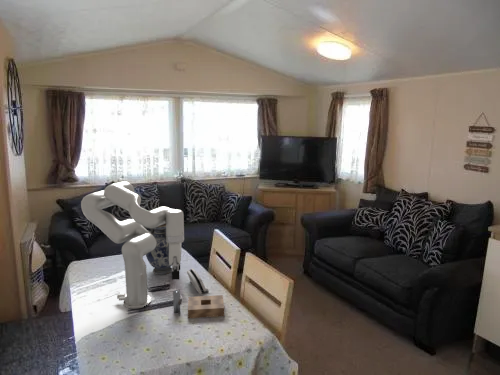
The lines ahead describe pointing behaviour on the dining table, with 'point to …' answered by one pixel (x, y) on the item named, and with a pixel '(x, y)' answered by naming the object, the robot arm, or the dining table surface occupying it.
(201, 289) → the grey half-round piece
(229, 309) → the dining table surface
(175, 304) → the pin
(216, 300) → the block with square hole
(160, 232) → the decorative vase
